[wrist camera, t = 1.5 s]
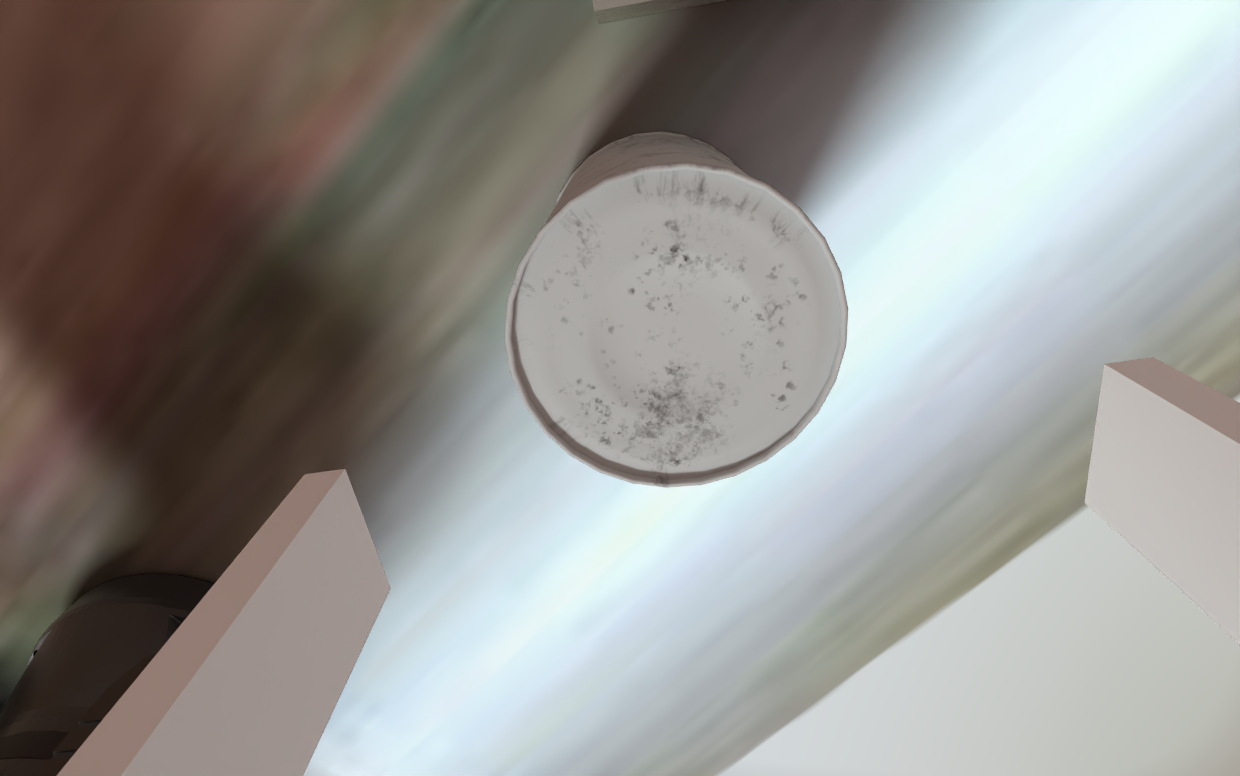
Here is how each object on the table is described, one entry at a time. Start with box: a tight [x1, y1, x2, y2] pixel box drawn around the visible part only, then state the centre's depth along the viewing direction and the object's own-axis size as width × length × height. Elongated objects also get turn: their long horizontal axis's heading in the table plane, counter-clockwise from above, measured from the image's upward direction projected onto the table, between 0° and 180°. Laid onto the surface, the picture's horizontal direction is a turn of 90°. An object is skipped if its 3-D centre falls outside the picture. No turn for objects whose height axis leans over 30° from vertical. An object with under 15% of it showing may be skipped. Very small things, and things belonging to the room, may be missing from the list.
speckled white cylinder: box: [505, 131, 848, 487], centre depth 24 cm, size 10×10×12 cm
